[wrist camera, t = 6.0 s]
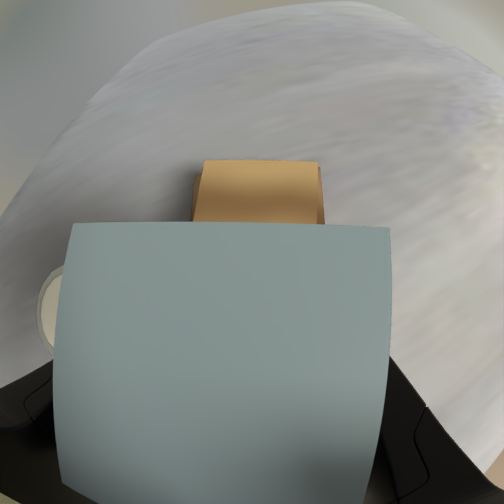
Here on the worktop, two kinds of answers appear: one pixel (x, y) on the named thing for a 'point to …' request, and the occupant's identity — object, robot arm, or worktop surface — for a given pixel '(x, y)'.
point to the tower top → (258, 192)
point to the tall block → (221, 361)
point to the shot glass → (49, 308)
